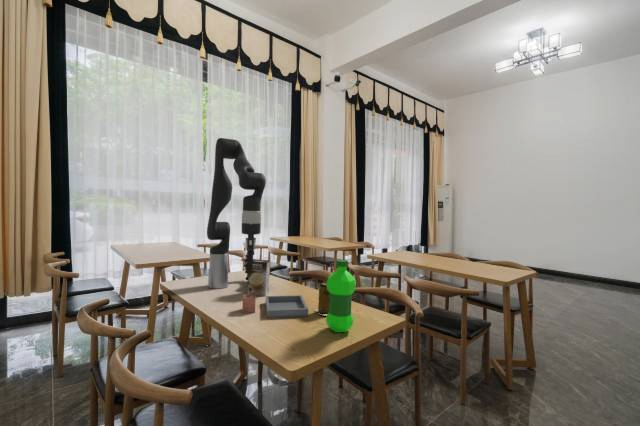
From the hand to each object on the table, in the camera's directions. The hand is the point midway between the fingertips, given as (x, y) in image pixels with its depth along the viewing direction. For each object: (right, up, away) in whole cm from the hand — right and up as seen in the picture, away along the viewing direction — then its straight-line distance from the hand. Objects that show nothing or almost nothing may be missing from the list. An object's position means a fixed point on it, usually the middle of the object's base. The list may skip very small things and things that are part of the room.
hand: (250, 263), depth 125 cm
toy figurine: (-6, -18, +39) cm, 43 cm away
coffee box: (-2, -19, +24) cm, 31 cm away
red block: (-1, -20, +1) cm, 20 cm away
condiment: (+31, -21, +1) cm, 37 cm away
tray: (+14, -20, +4) cm, 25 cm away
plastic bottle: (+35, -22, -15) cm, 44 cm away
